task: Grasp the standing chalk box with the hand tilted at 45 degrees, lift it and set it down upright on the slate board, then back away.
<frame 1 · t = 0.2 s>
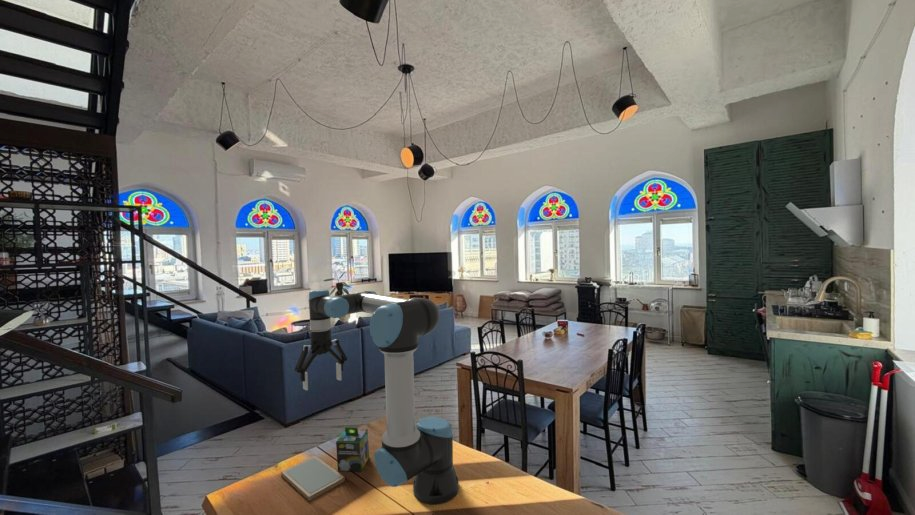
hand: (322, 384, 150), 27 cm above the table, tool pointing down, fingers open, 13 cm apart
chalk box: (353, 464, 143), on the table
slate board: (312, 478, 136), on the table
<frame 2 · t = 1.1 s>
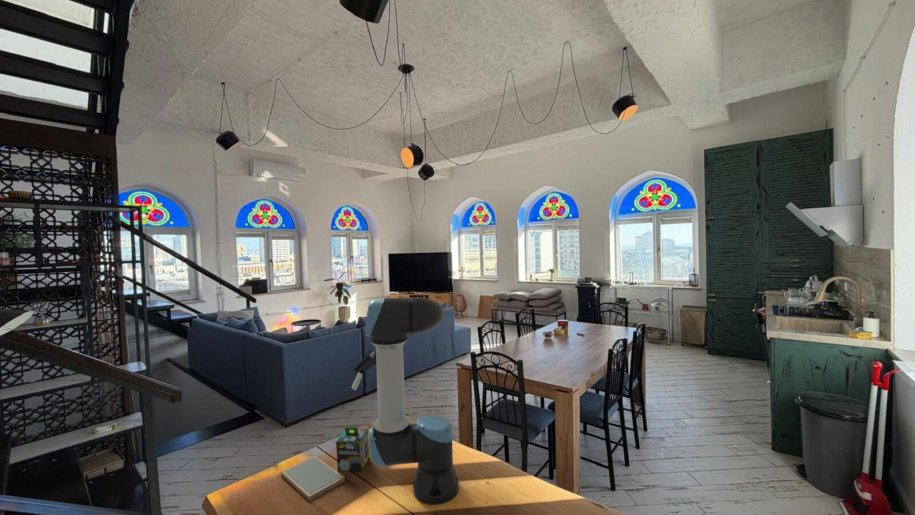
hand: (367, 391, 151), 24 cm above the table, tool tilted 45°, fingers open, 13 cm apart
nothing on the table moved.
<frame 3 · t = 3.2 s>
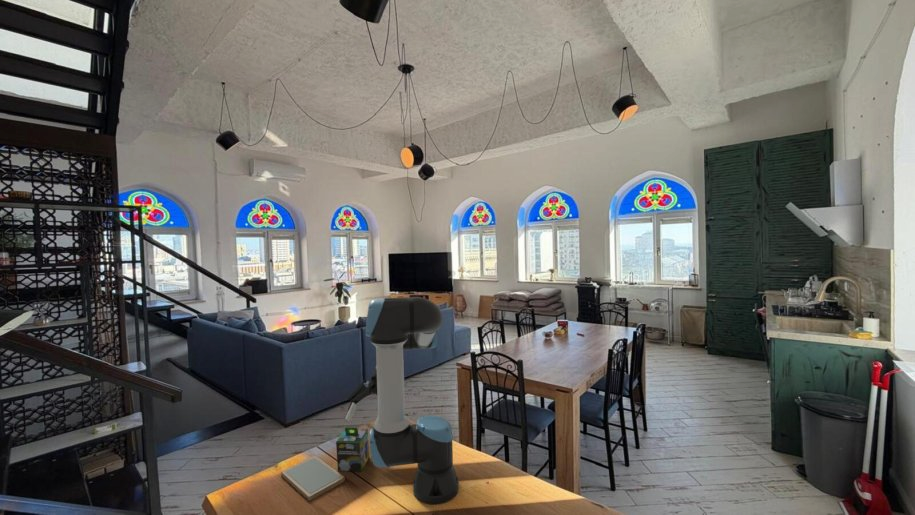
hand: (361, 423, 148), 12 cm above the table, tool tilted 45°, fingers open, 13 cm apart
nothing on the table moved.
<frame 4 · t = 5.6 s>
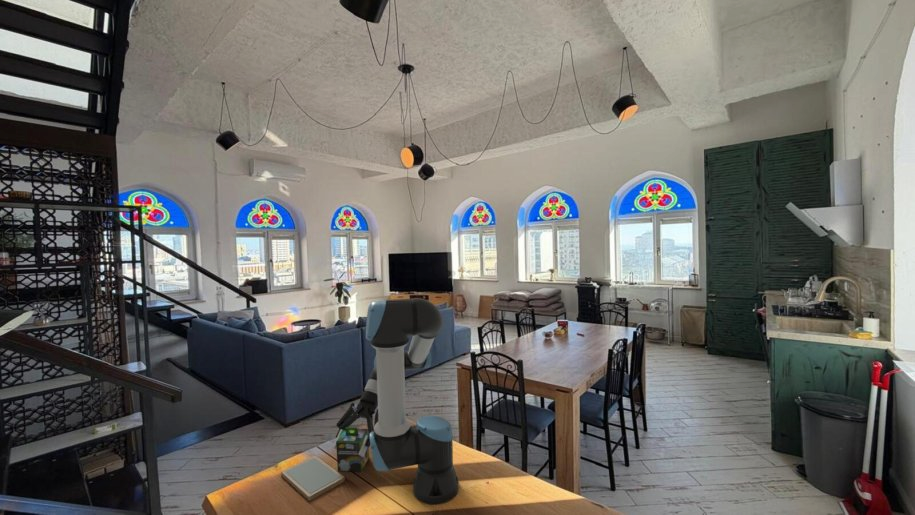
hand: (347, 452, 140), 6 cm above the table, tool tilted 45°, fingers closed on chalk box, 11 cm apart
chalk box: (353, 464, 143), on the table, touching gripper
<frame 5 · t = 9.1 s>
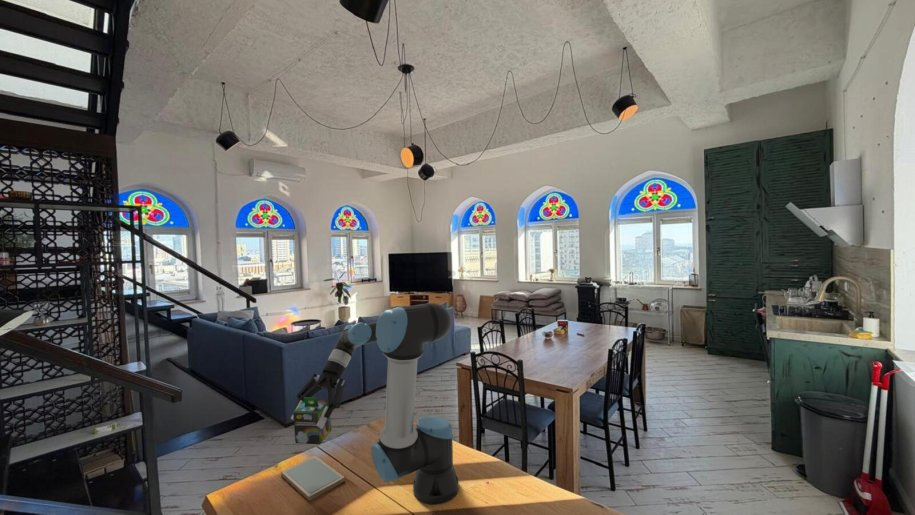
hand: (306, 423, 132), 21 cm above the table, tool tilted 45°, fingers closed on chalk box, 11 cm apart
chalk box: (313, 437, 135), point 15 cm above the table, touching gripper
when the fingers open (9 cm above the table, at t = 12.8 s): chalk box stays where it is, resting on slate board.
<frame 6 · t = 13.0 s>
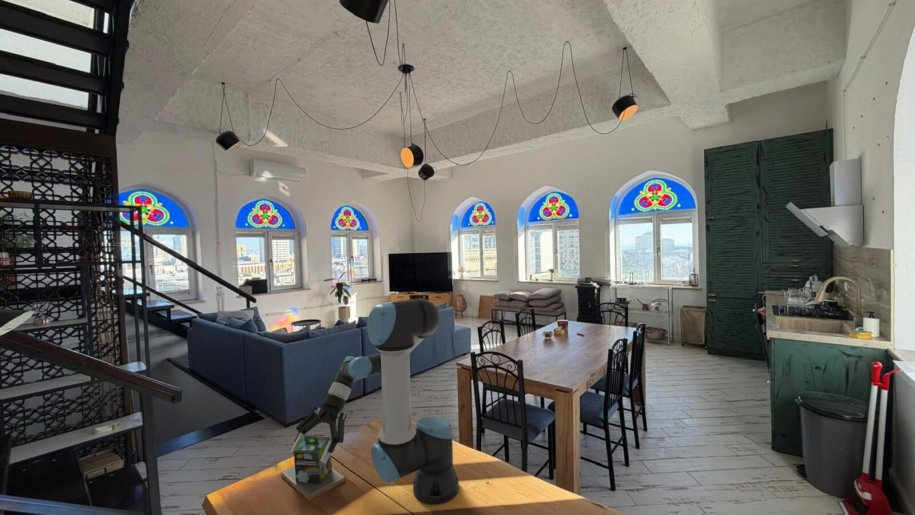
hand: (307, 457, 132), 9 cm above the table, tool tilted 45°, fingers open, 13 cm apart
chalk box: (314, 475, 135), point 1 cm above the table, touching slate board
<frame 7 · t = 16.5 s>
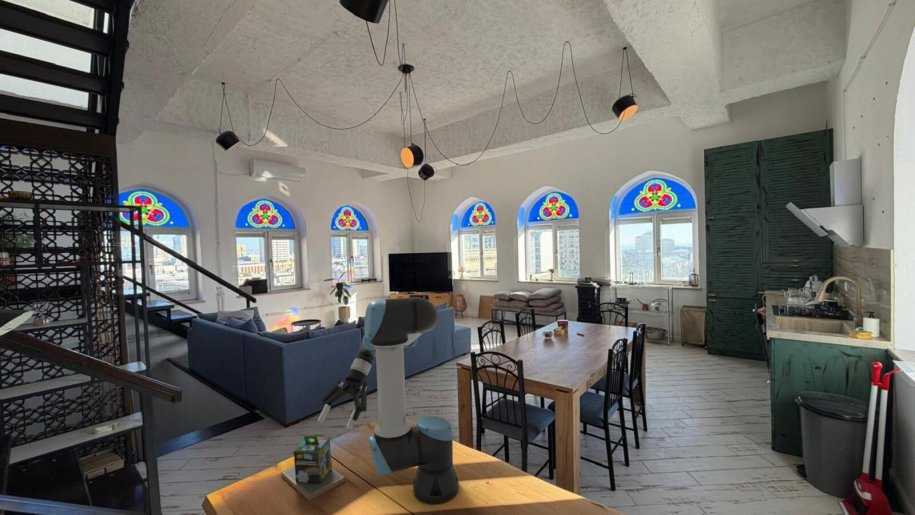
hand: (333, 425, 144), 14 cm above the table, tool tilted 45°, fingers open, 13 cm apart
nothing on the table moved.
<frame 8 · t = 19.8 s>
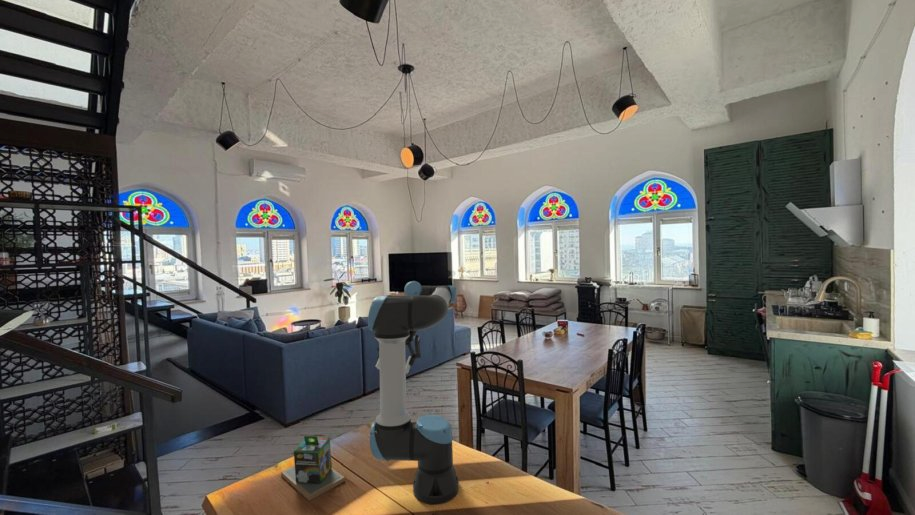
hand: (391, 370, 157), 30 cm above the table, tool tilted 45°, fingers open, 13 cm apart
nothing on the table moved.
at the end: chalk box inside the target area on the slate board (0.9 cm from its centre), point 1.3 cm above the slate board's base; chalk box tilted 0°; the gripper is holding nothing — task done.
